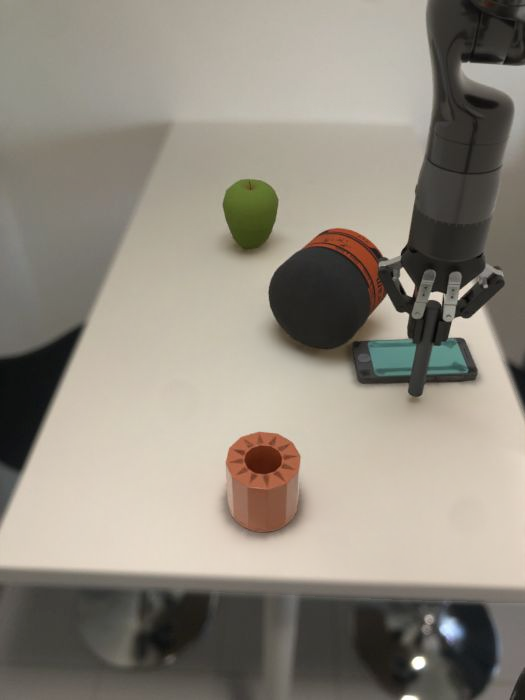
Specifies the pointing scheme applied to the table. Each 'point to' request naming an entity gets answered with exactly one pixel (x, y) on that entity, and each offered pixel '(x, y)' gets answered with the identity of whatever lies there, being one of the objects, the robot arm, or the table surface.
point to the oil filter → (327, 289)
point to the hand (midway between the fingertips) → (426, 339)
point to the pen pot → (263, 481)
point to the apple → (250, 212)
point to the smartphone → (411, 361)
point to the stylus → (424, 348)
